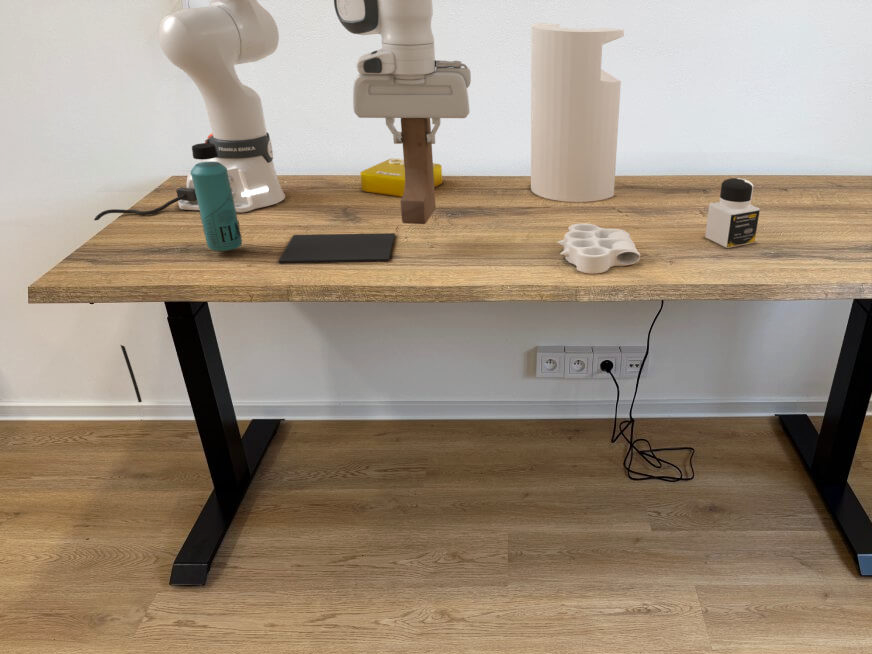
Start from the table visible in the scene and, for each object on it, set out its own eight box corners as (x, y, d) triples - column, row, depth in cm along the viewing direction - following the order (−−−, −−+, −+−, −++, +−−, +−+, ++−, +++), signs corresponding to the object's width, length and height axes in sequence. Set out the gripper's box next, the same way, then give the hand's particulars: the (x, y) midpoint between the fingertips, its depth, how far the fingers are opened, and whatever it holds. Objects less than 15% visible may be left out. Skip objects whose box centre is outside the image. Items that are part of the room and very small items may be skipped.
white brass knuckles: (642, 273, 140) (562, 274, 139) (625, 238, 155) (553, 239, 154) (644, 255, 138) (563, 256, 137) (626, 222, 153) (553, 223, 152)
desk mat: (279, 263, 142) (278, 260, 142) (293, 237, 154) (293, 234, 154) (388, 261, 143) (388, 258, 143) (395, 235, 155) (394, 233, 155)
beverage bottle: (224, 261, 143) (199, 150, 132) (200, 254, 146) (175, 145, 135) (252, 250, 147) (231, 143, 137) (229, 244, 150) (206, 138, 140)
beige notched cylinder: (539, 180, 189) (615, 195, 180) (513, 191, 181) (591, 207, 172) (541, 22, 171) (625, 29, 161) (512, 27, 163) (599, 34, 153)
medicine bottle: (726, 249, 151) (735, 187, 144) (704, 237, 156) (711, 178, 150) (755, 243, 153) (765, 183, 147) (731, 232, 159) (740, 173, 152)
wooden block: (425, 225, 143) (418, 124, 133) (401, 223, 143) (393, 123, 134) (436, 209, 150) (430, 113, 141) (413, 208, 151) (406, 112, 141)
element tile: (358, 191, 180) (356, 170, 178) (392, 175, 192) (390, 155, 190) (414, 199, 176) (412, 178, 173) (445, 182, 187) (444, 162, 185)
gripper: (470, 58, 135) (472, 139, 143) (352, 56, 134) (360, 138, 141) (470, 63, 130) (472, 147, 138) (347, 62, 129) (356, 147, 136)
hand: (414, 143), depth 139 cm, fingers closed on wooden block, 4 cm apart
